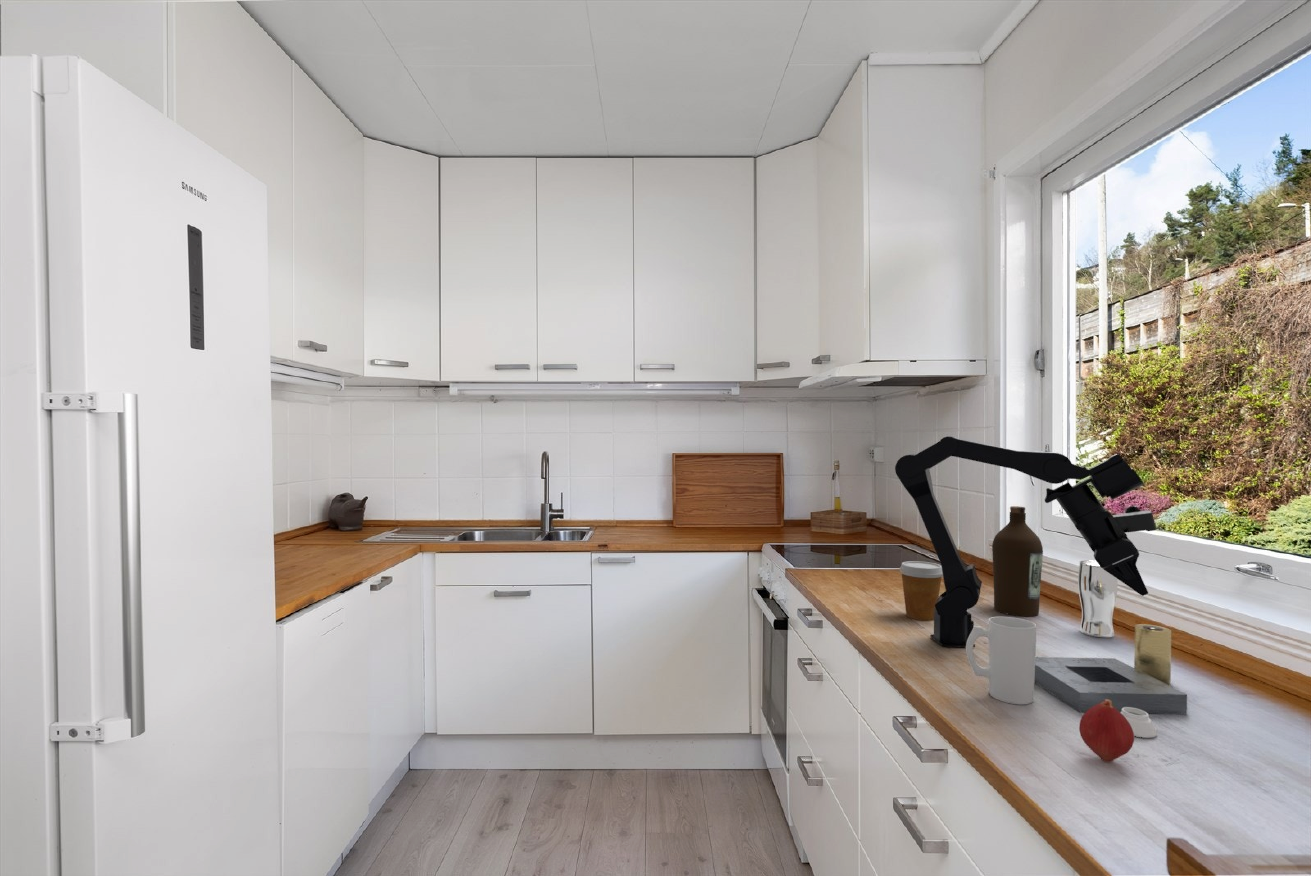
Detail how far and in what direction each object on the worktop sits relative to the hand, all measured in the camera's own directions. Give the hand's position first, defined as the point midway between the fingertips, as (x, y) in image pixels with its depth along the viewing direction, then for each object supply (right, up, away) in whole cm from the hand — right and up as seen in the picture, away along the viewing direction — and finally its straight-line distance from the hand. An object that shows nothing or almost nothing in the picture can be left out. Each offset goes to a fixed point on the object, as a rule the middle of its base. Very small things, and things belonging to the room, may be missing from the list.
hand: (1142, 589), depth 117 cm
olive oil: (-1, -15, +40) cm, 43 cm away
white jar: (-19, -15, -24) cm, 34 cm away
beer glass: (+7, -15, +23) cm, 28 cm away
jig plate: (-14, -15, -10) cm, 23 cm away
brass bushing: (-1, -15, -4) cm, 15 cm away
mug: (-31, -15, -11) cm, 37 cm away
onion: (-29, -15, -33) cm, 46 cm away
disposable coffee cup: (-26, -14, +34) cm, 45 cm away
